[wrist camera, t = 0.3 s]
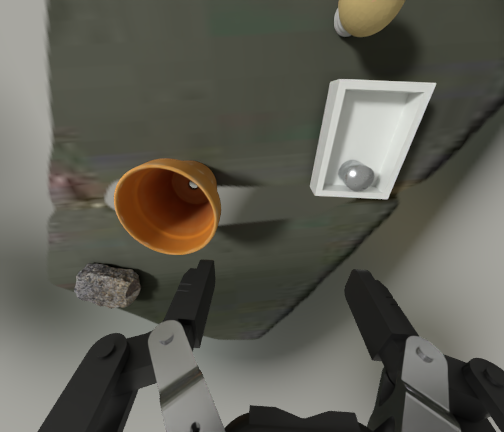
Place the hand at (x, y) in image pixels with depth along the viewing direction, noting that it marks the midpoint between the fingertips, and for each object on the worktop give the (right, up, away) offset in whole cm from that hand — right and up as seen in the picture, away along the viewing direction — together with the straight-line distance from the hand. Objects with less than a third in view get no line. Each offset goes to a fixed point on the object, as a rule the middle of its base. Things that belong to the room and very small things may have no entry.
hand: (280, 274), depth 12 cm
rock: (-38, -13, +41) cm, 58 cm away
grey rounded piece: (+15, +11, +22) cm, 29 cm away
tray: (+15, +16, +22) cm, 31 cm away
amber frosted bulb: (+11, +30, +15) cm, 35 cm away
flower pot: (-13, +10, +27) cm, 32 cm away
